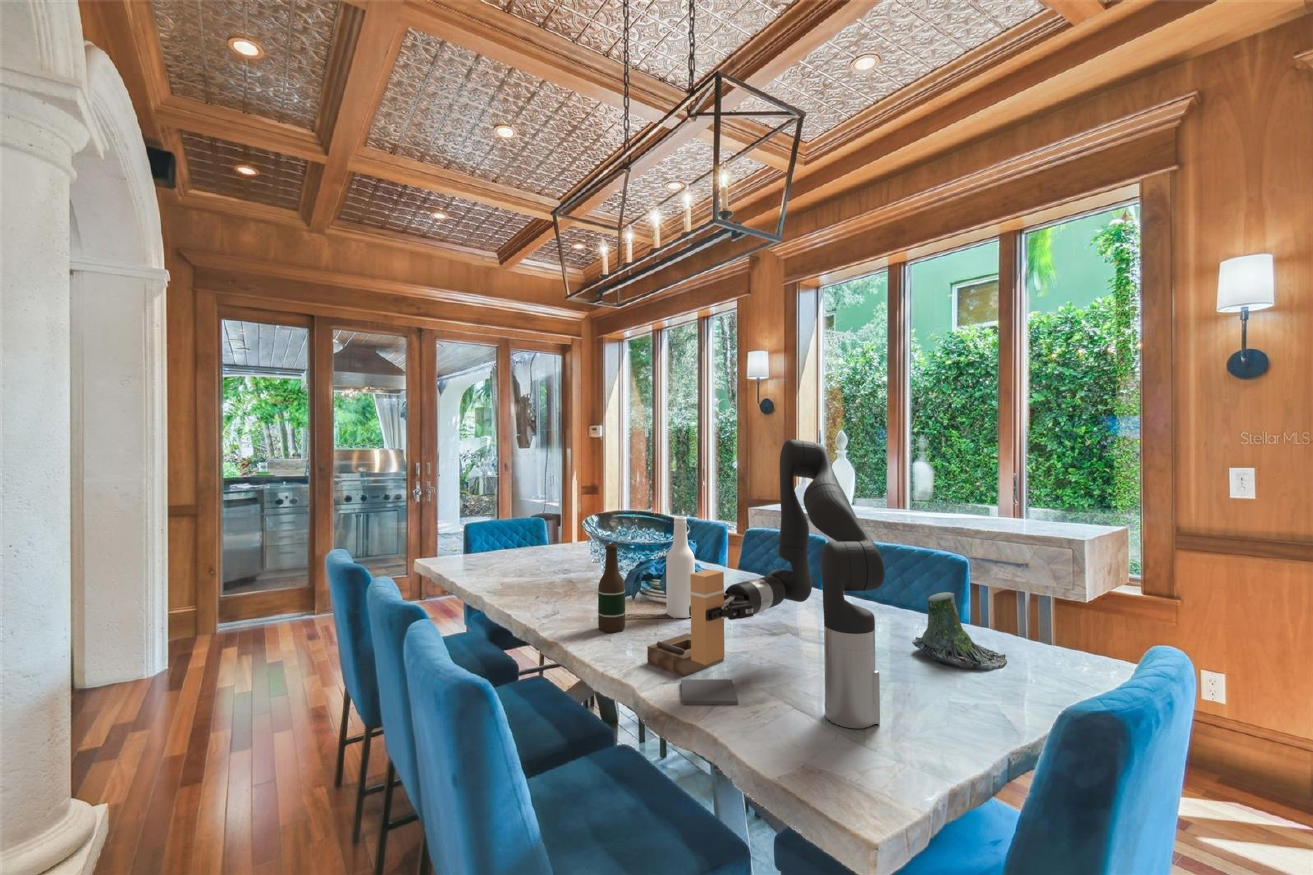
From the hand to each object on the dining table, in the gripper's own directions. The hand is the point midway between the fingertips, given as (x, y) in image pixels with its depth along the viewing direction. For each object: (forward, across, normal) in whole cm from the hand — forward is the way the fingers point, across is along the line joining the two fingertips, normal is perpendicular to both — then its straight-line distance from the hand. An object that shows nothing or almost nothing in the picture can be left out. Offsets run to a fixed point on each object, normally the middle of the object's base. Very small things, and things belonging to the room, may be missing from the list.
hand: (698, 613), depth 123 cm
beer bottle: (-17, -48, +18) cm, 54 cm away
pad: (-2, 0, +17) cm, 17 cm away
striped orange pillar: (-3, 0, +10) cm, 10 cm away
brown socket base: (-13, -16, +17) cm, 27 cm away
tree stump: (-62, +29, +18) cm, 71 cm away
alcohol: (-41, -44, +18) cm, 63 cm away
